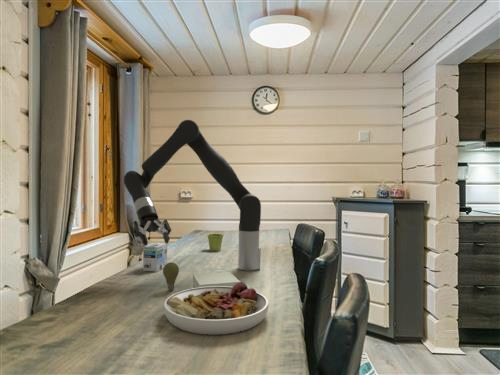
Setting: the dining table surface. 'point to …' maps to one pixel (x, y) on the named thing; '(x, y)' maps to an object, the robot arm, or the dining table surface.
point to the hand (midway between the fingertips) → (157, 243)
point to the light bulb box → (154, 256)
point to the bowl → (216, 309)
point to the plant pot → (215, 241)
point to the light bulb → (170, 274)
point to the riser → (214, 279)
